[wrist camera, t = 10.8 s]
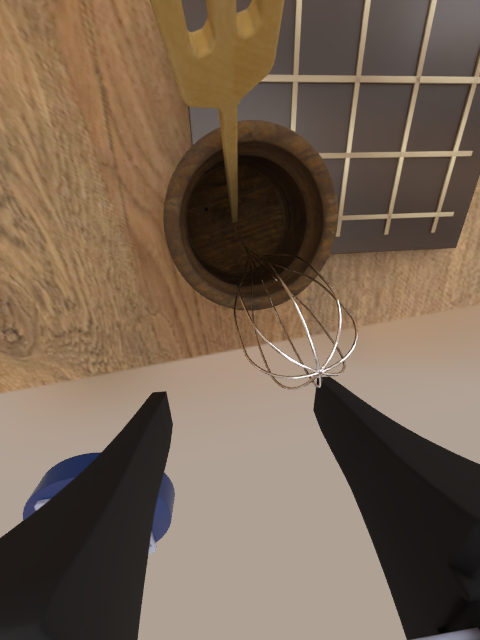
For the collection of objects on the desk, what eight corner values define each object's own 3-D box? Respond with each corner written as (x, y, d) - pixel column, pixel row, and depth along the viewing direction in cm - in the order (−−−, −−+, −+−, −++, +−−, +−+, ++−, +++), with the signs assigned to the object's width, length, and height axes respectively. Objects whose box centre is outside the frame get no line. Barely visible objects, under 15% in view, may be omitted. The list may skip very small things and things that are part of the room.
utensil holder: (206, 290, 14) (179, 523, 3) (157, 178, 12) (-535, -287, 1) (298, 256, 14) (585, 394, 3) (268, 132, 12) (1245, -1394, 1)
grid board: (434, 272, 17) (448, 276, 16) (178, 287, 15) (175, 292, 14) (568, -171, 9) (612, -218, 8) (107, -216, 8) (91, -279, 7)
